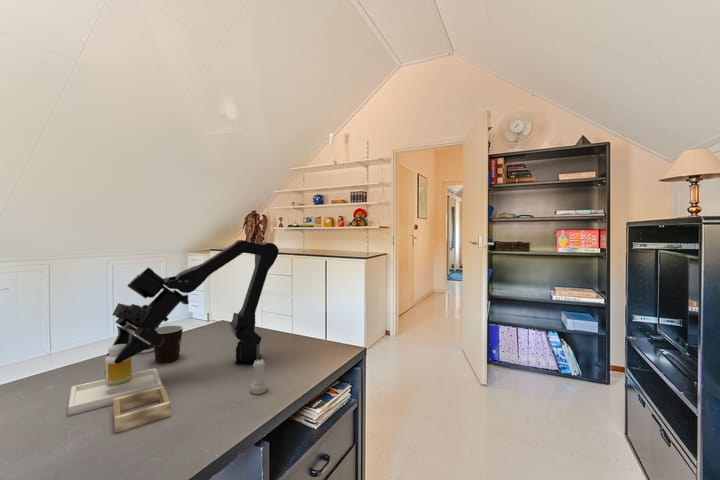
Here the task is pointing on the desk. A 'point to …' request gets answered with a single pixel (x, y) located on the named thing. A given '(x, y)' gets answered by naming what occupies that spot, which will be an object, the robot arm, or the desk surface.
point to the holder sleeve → (140, 415)
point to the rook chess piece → (258, 378)
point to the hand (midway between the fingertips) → (111, 360)
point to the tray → (109, 391)
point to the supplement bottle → (117, 368)
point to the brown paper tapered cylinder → (168, 344)
